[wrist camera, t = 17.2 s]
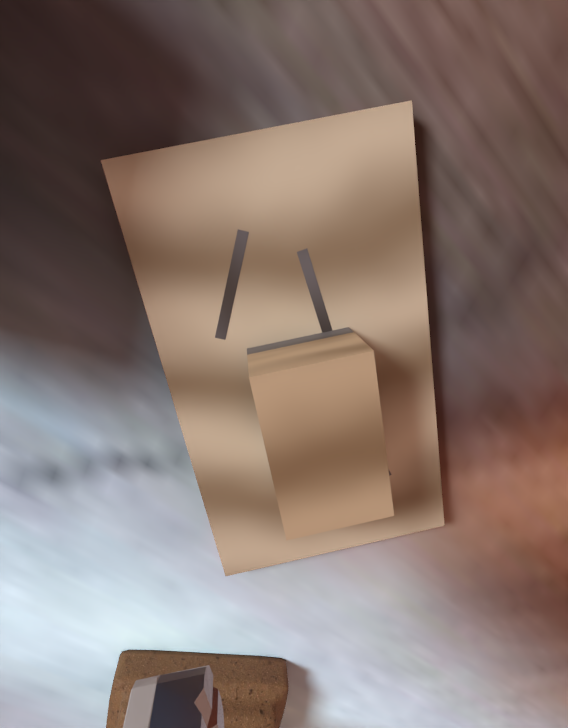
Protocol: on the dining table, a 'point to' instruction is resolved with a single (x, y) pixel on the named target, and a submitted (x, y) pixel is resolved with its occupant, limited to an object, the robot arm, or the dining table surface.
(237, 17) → the dining table surface
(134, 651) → the candle holder
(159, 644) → the dining table surface
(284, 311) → the board
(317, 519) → the block
